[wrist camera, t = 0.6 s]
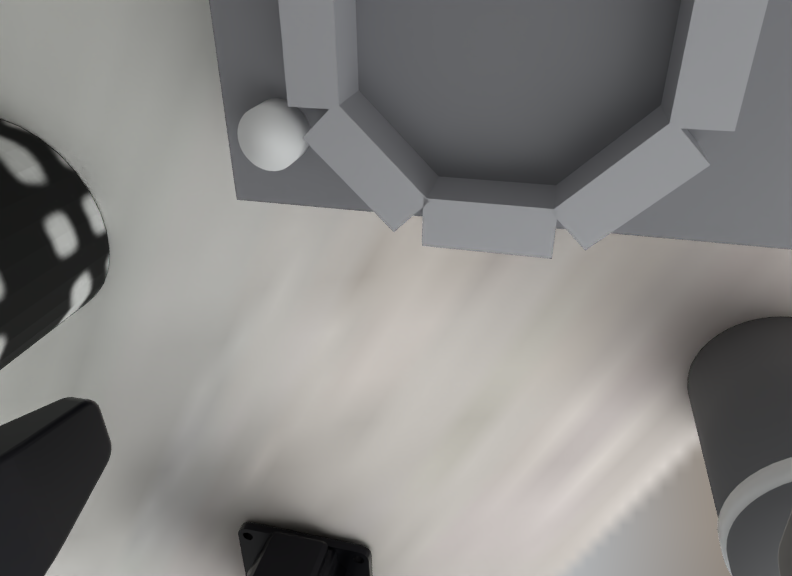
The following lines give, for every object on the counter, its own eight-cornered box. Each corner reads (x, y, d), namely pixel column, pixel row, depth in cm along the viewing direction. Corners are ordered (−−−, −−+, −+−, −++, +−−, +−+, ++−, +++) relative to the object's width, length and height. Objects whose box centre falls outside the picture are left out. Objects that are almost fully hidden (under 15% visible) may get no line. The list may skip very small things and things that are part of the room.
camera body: (757, 192, 18) (821, 286, 13) (291, 158, 21) (210, 224, 16) (877, -222, 13) (1037, -298, 9) (260, -190, 16) (135, -236, 12)
